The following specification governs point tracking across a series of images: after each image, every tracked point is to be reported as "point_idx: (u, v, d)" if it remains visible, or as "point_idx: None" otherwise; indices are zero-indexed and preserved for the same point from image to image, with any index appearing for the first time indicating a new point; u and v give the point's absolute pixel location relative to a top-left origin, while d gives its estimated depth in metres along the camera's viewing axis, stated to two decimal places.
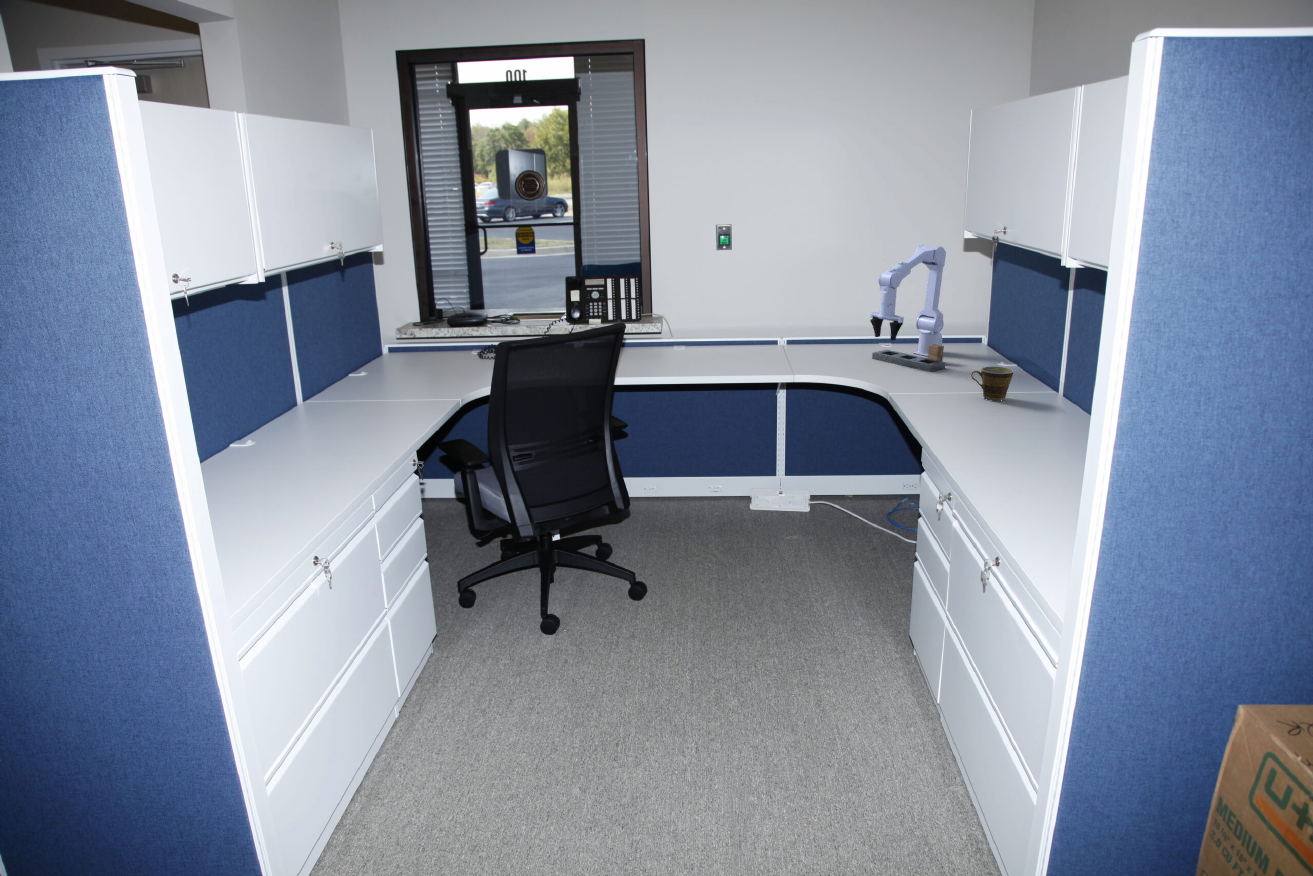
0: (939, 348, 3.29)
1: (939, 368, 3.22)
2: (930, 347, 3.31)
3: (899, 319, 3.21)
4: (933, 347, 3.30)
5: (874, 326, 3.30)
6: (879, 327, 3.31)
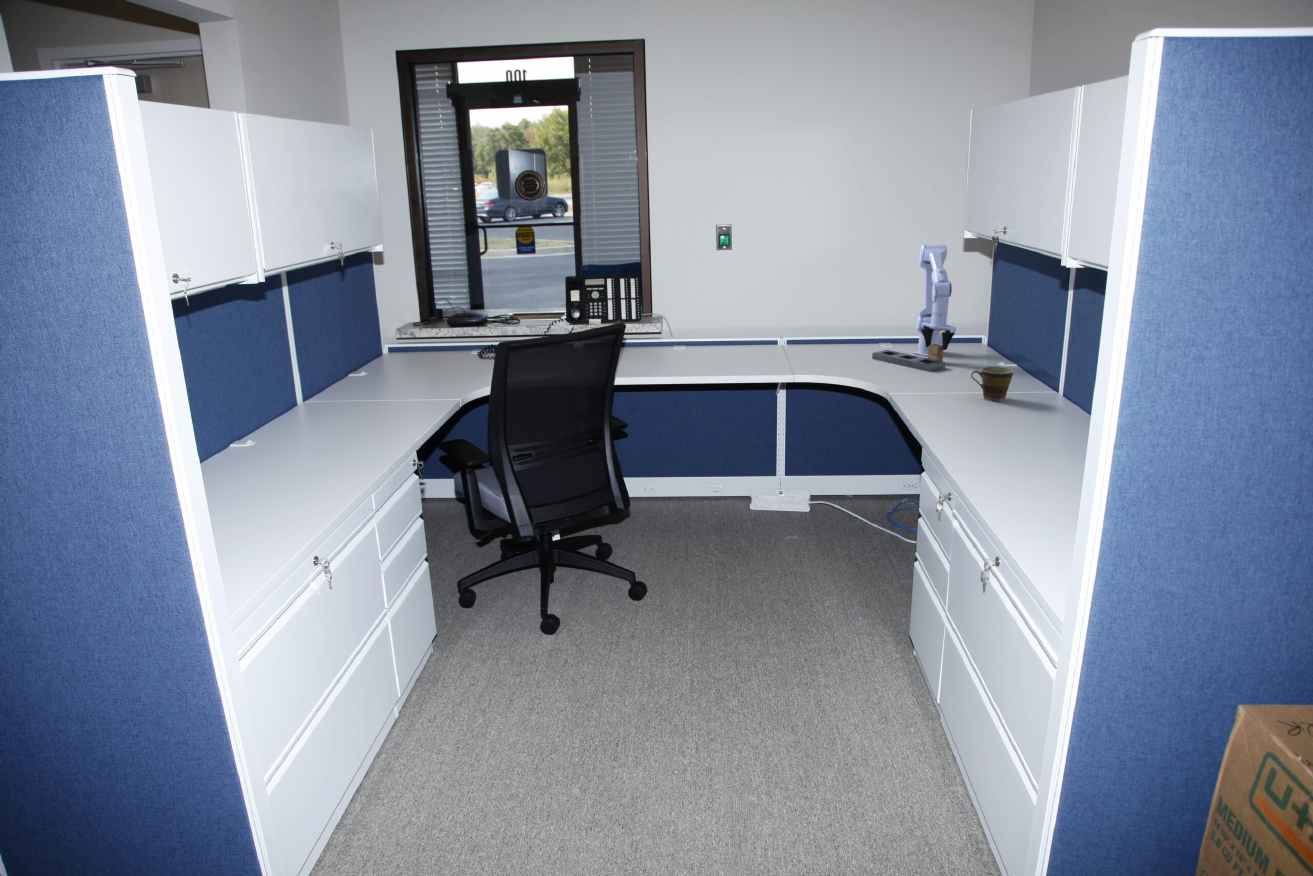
0: (939, 348, 3.29)
1: (939, 368, 3.22)
2: (930, 347, 3.31)
3: (951, 329, 3.22)
4: (933, 347, 3.29)
5: (925, 336, 3.32)
6: (930, 337, 3.33)
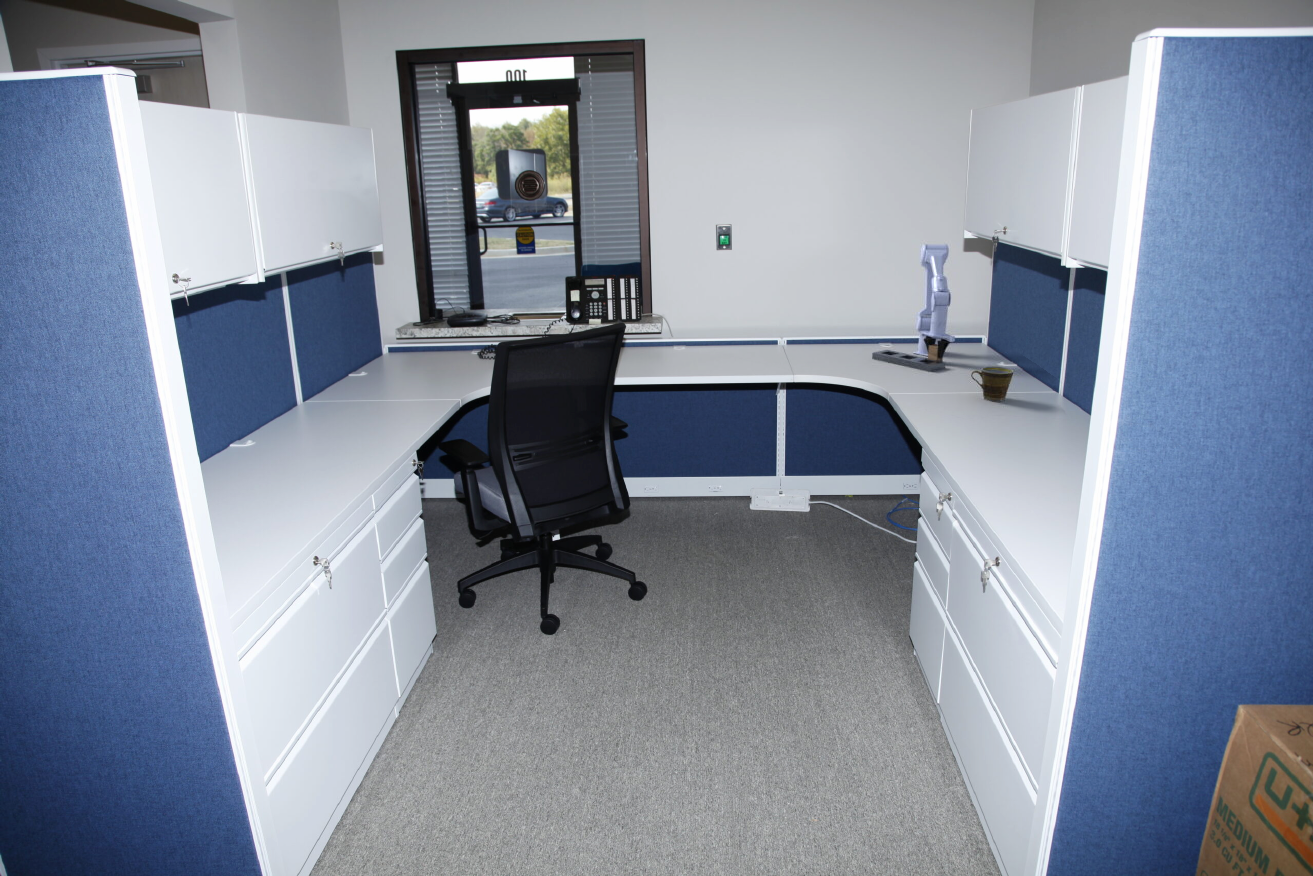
0: None
1: (939, 368, 3.22)
2: (930, 347, 3.31)
3: (950, 338, 3.24)
4: (933, 347, 3.29)
5: (927, 345, 3.32)
6: None
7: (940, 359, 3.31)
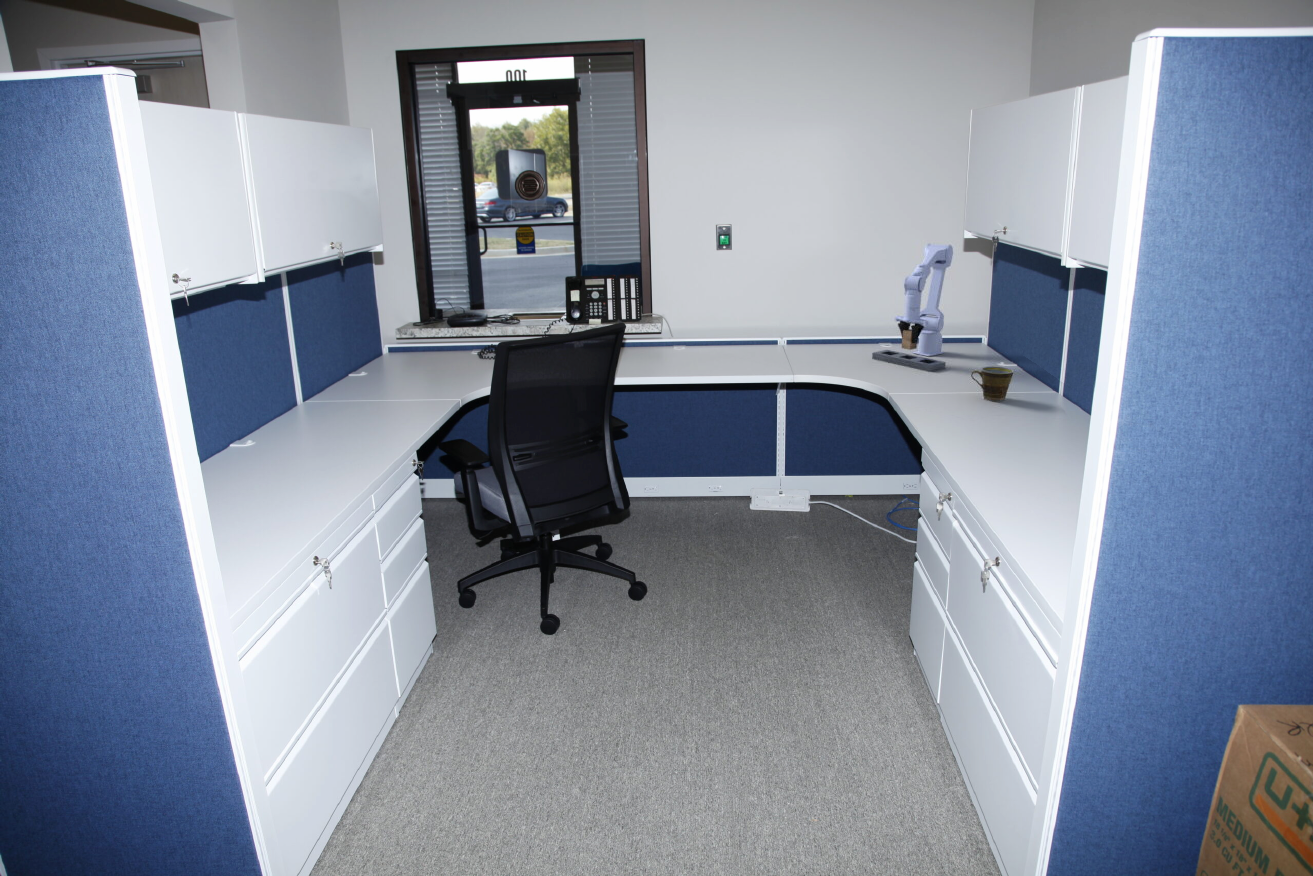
0: None
1: (939, 368, 3.22)
2: (904, 332, 3.28)
3: (924, 323, 3.21)
4: (907, 332, 3.27)
5: (901, 330, 3.29)
6: None
7: (914, 344, 3.29)
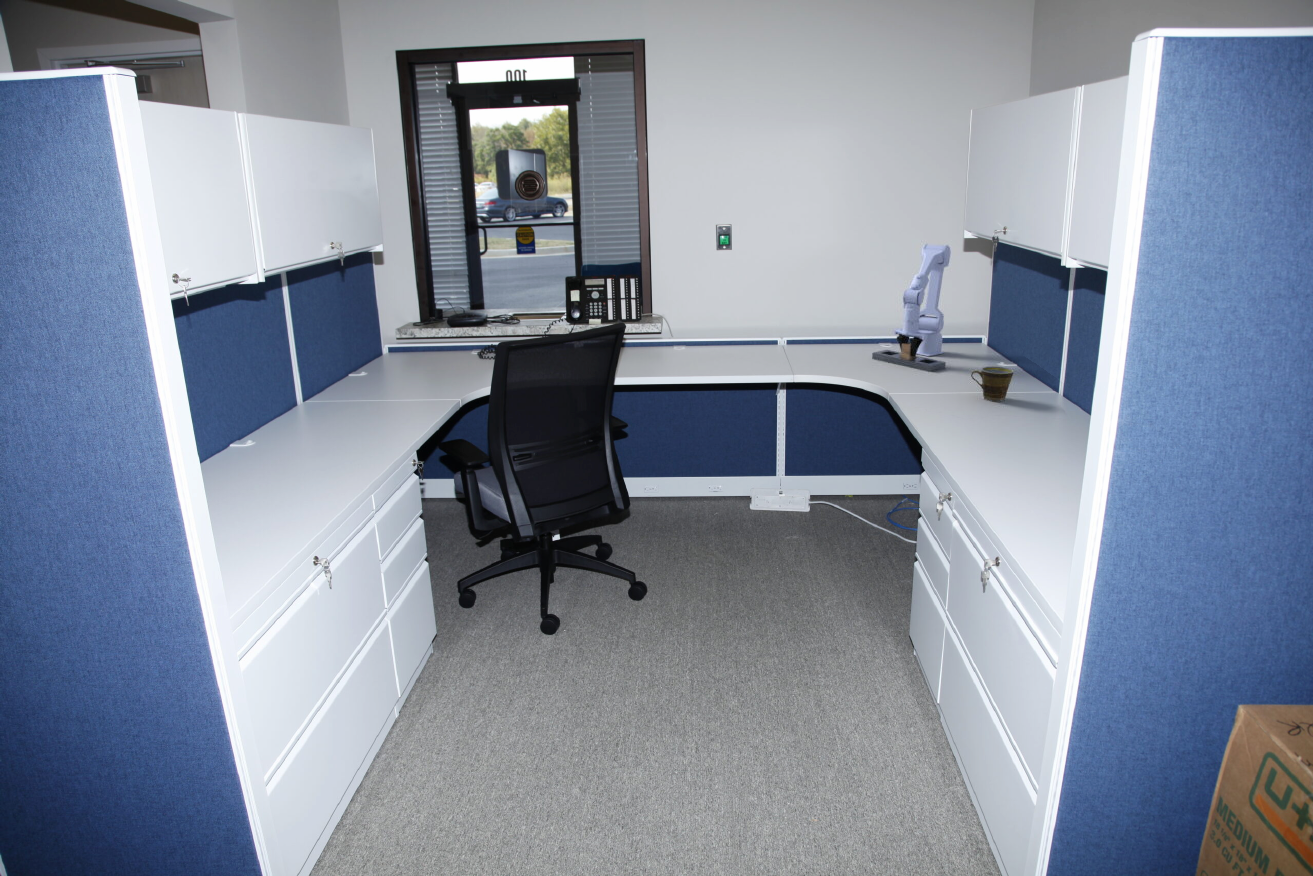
0: None
1: (939, 368, 3.22)
2: (903, 345, 3.30)
3: (923, 336, 3.23)
4: (906, 345, 3.29)
5: (900, 343, 3.31)
6: None
7: (913, 357, 3.30)
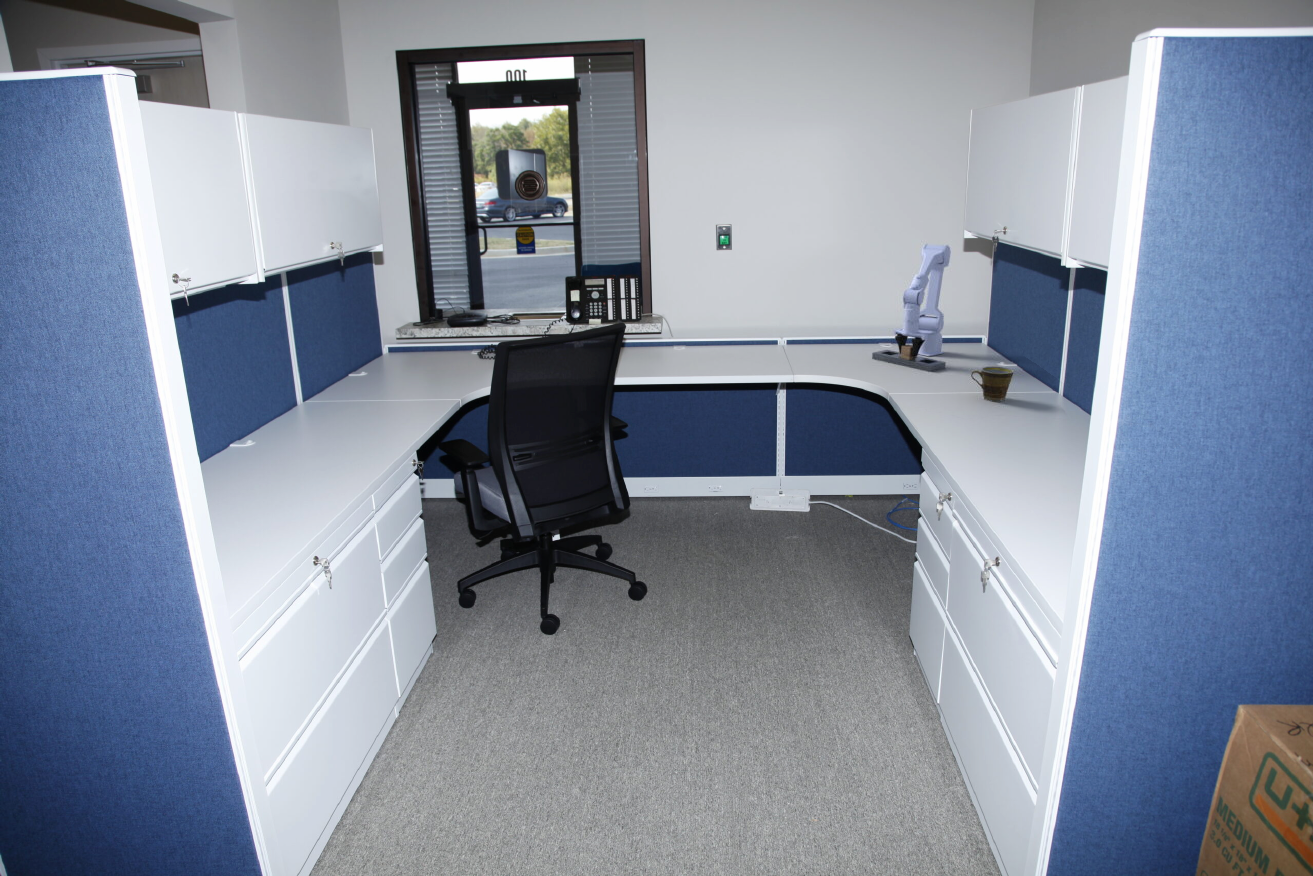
0: (911, 348, 3.28)
1: (939, 368, 3.22)
2: (903, 347, 3.30)
3: (923, 336, 3.23)
4: (906, 347, 3.29)
5: (899, 343, 3.32)
6: (904, 344, 3.33)
7: None
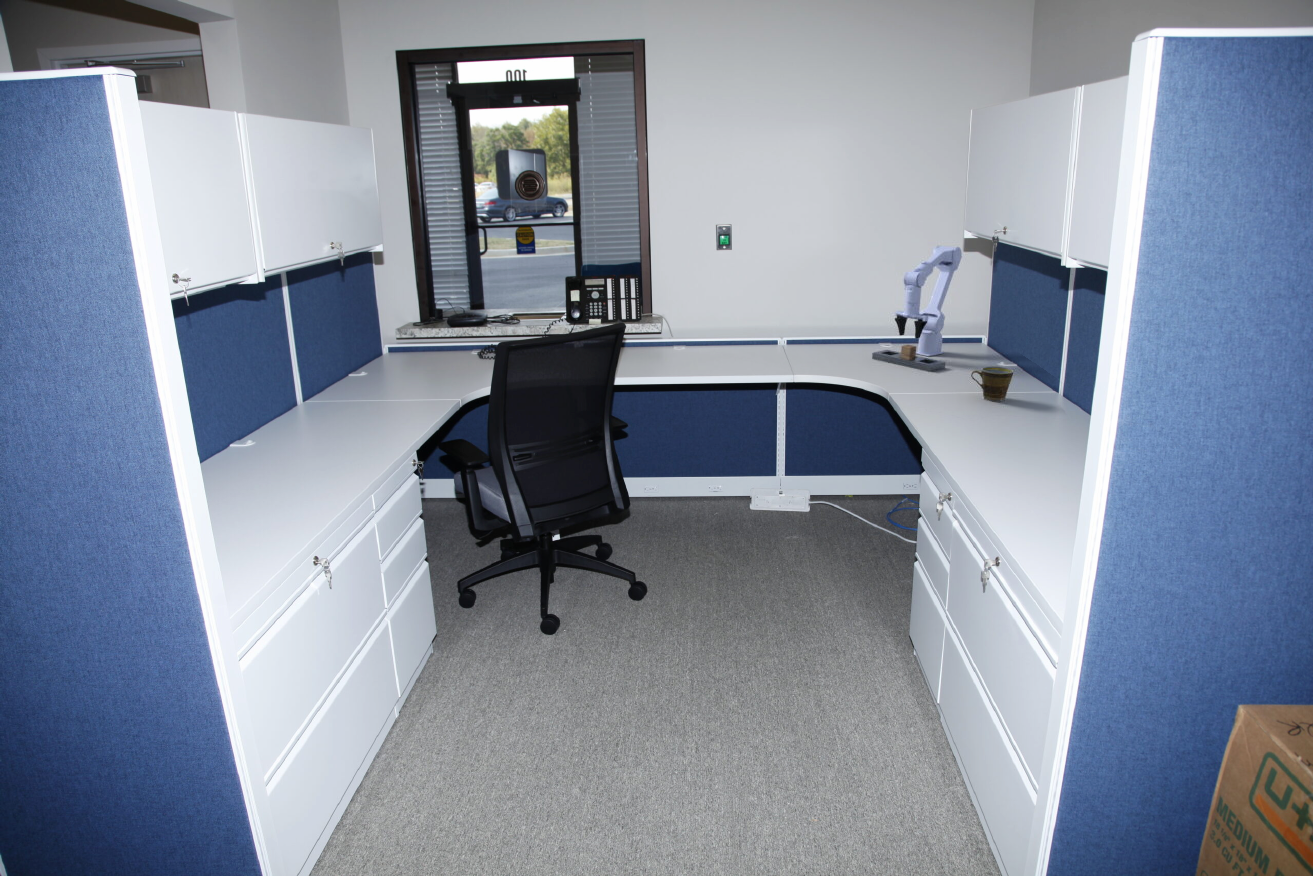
0: (911, 348, 3.28)
1: (939, 368, 3.22)
2: (903, 347, 3.30)
3: (924, 318, 3.27)
4: (906, 347, 3.29)
5: (898, 324, 3.36)
6: (903, 325, 3.37)
7: None
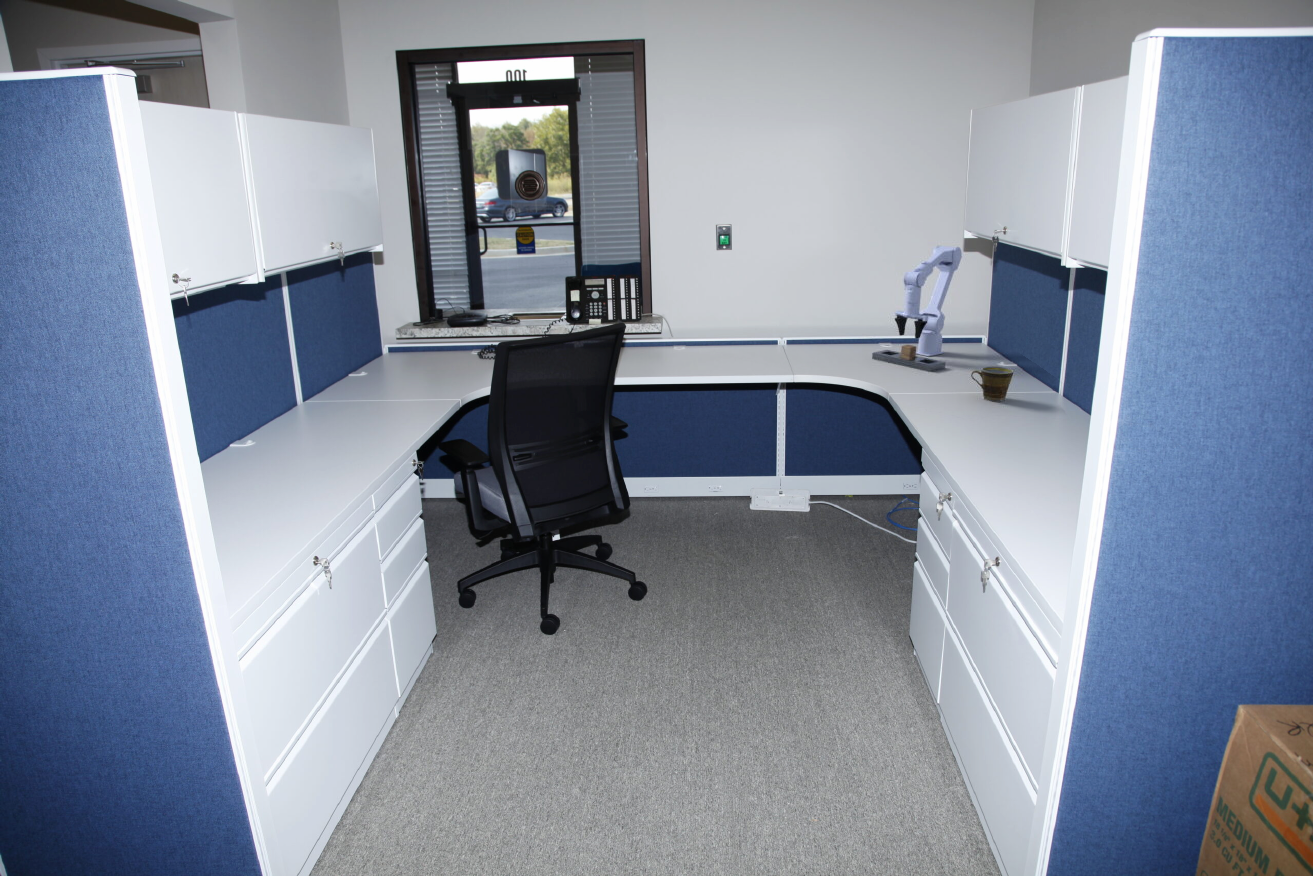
0: (911, 348, 3.28)
1: (939, 368, 3.22)
2: (903, 347, 3.30)
3: (924, 318, 3.27)
4: (906, 347, 3.29)
5: (898, 324, 3.36)
6: (903, 325, 3.37)
7: None
